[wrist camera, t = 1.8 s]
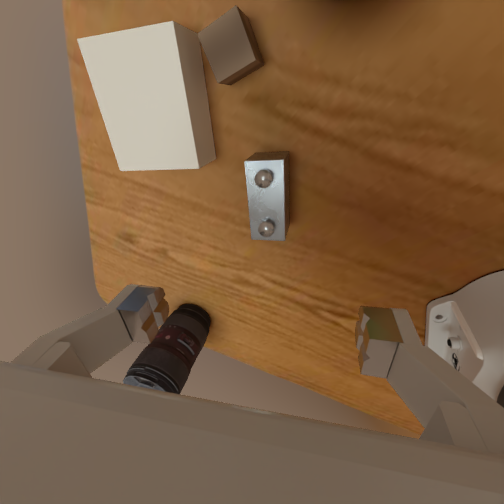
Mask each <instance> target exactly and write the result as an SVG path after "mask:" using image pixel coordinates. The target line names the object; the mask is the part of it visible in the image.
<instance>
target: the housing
mask: <svg viewBox="0 0 504 504" xmlns="http://www.w3.org/2000/svg"><path fill="white" fill-rule="evenodd" d="M245 172H246V183H247V194H248V206H249V217H250V228H251V239H254V240H278V241H285V239H286V235H287V232H288V228H289V224H290V186H289V151H284V152H261V153H254V154H253V155H252V156H251V157H249V158H248V159H247V160H245Z"/></svg>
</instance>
